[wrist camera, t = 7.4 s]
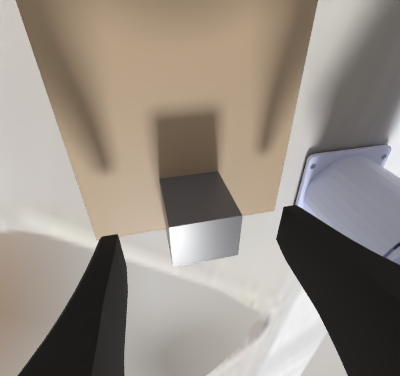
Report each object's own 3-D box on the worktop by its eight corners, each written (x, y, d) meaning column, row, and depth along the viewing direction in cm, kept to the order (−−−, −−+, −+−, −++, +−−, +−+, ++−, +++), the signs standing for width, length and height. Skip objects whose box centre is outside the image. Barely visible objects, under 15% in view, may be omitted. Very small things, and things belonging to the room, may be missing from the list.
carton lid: (269, 204, 16) (305, 254, 13) (97, 232, 15) (89, 298, 11) (338, -155, 8) (481, -259, 5) (-44, -199, 6) (-227, -420, 3)
